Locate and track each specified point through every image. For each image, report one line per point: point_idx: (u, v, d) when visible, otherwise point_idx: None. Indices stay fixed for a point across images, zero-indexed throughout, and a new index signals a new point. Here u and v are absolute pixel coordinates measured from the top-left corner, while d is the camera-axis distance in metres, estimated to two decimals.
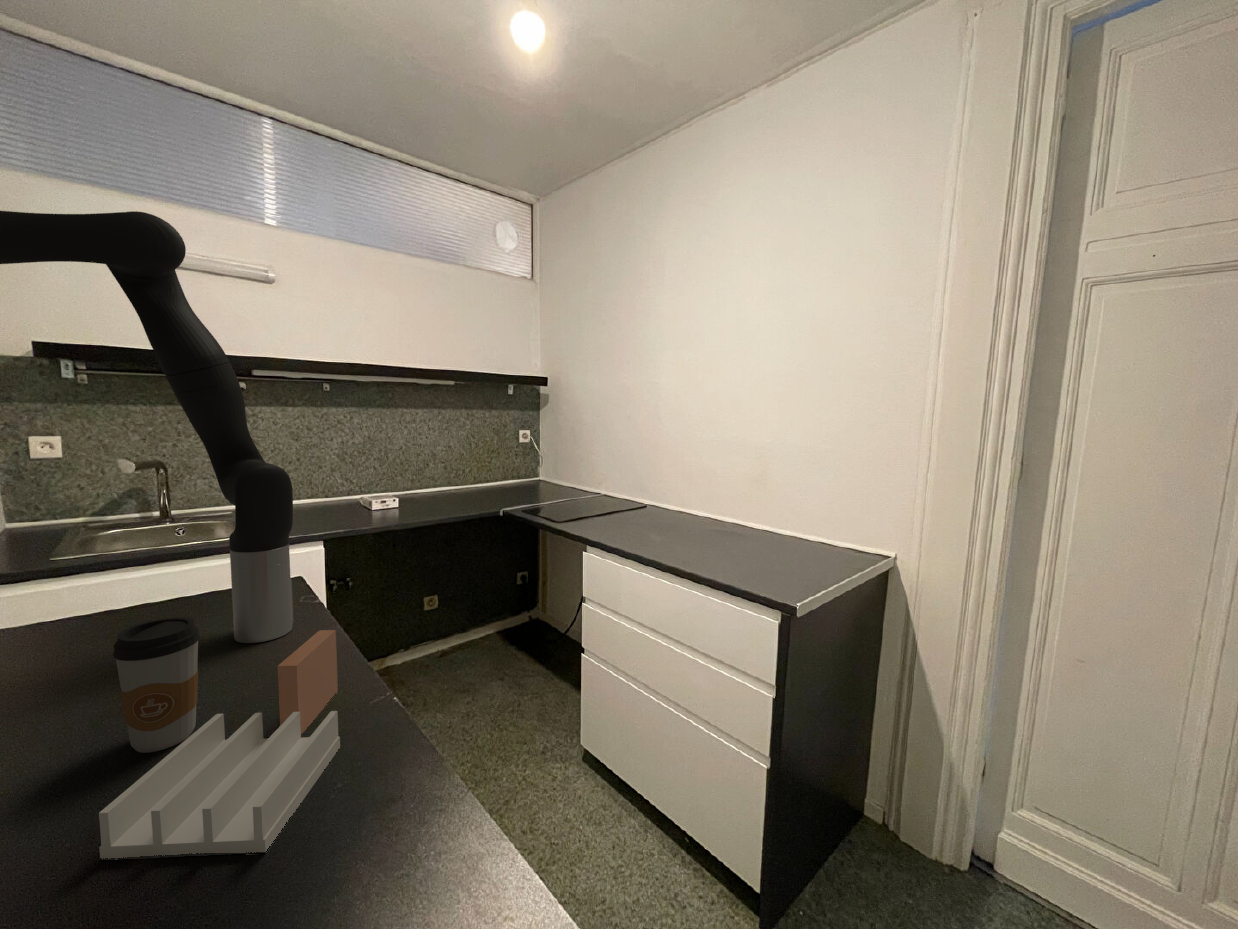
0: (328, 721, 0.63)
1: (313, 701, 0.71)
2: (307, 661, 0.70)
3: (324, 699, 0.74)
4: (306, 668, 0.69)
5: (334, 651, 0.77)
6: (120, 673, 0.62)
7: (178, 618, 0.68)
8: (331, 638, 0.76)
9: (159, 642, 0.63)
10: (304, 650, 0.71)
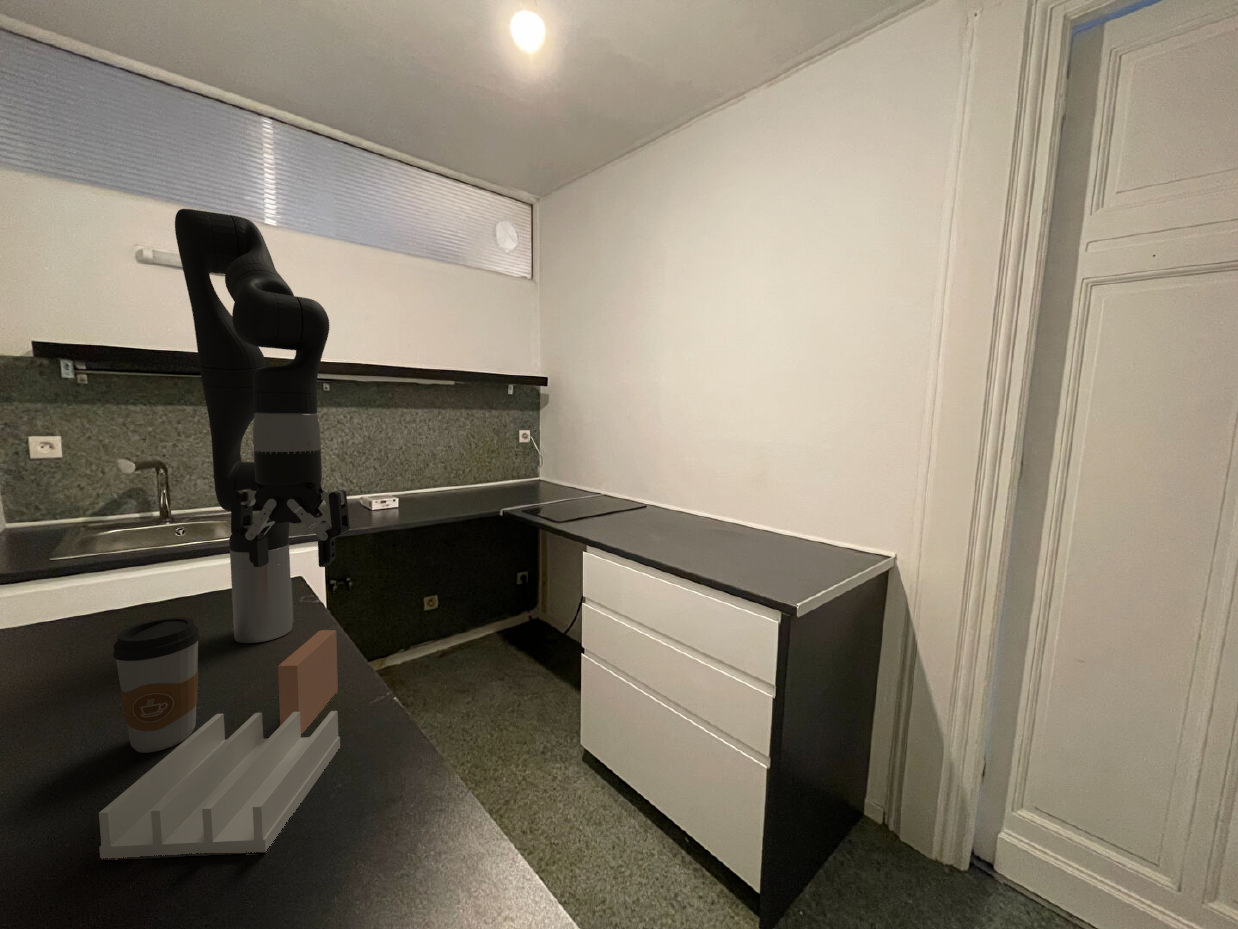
0: (328, 721, 0.63)
1: (314, 701, 0.71)
2: (308, 661, 0.70)
3: (324, 699, 0.74)
4: (307, 668, 0.69)
5: (335, 651, 0.77)
6: (120, 673, 0.62)
7: (178, 618, 0.68)
8: (331, 638, 0.76)
9: (159, 642, 0.63)
10: (305, 650, 0.71)
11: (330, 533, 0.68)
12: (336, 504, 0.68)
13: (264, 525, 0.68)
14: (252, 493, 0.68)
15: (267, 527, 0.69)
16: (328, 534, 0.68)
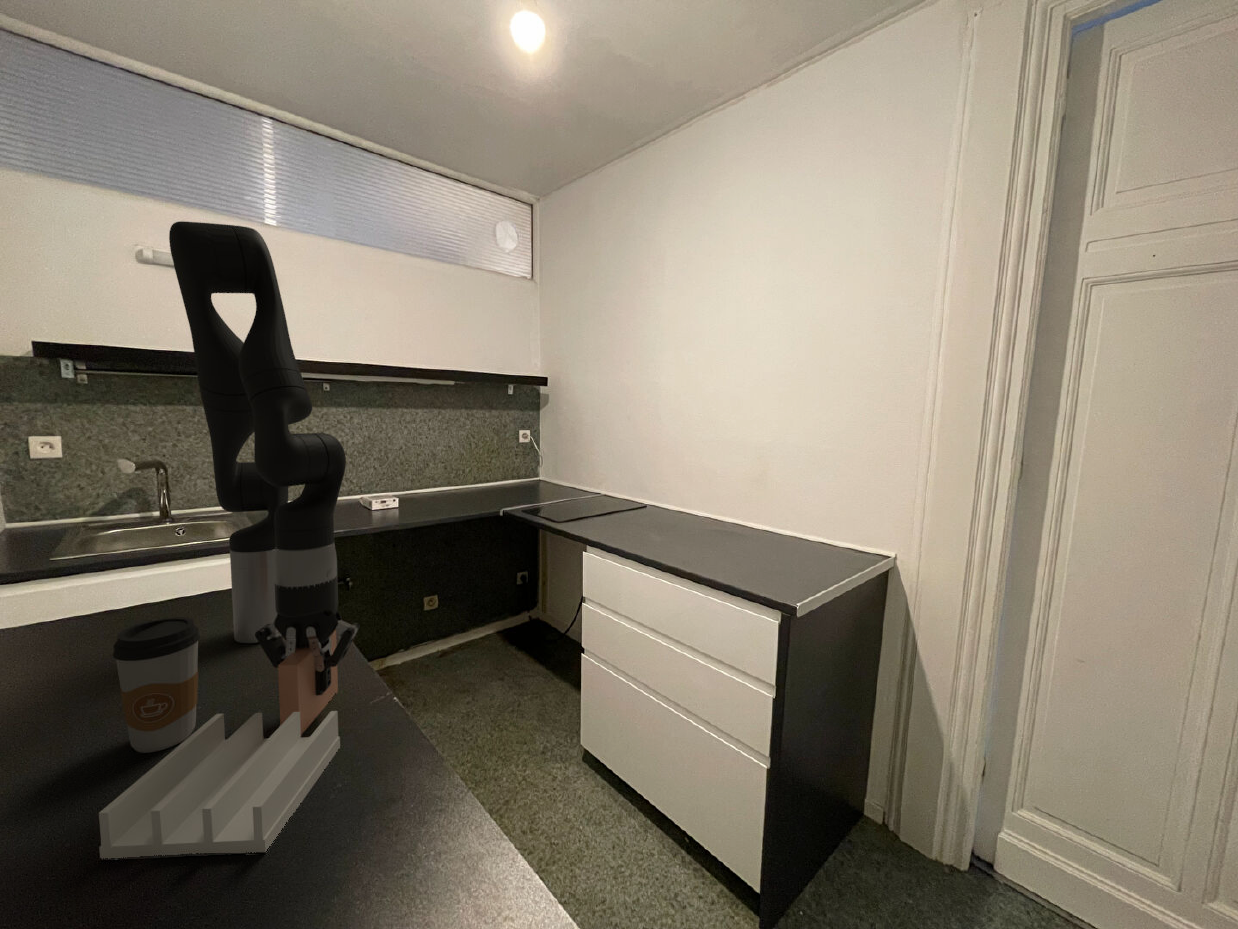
0: (328, 721, 0.63)
1: (314, 700, 0.71)
2: (308, 661, 0.70)
3: (324, 699, 0.74)
4: (307, 668, 0.69)
5: None
6: (120, 673, 0.62)
7: (178, 618, 0.68)
8: (331, 638, 0.76)
9: (159, 642, 0.63)
10: (304, 650, 0.71)
11: (326, 663, 0.72)
12: (346, 641, 0.71)
13: None
14: (272, 625, 0.71)
15: None
16: (324, 665, 0.72)
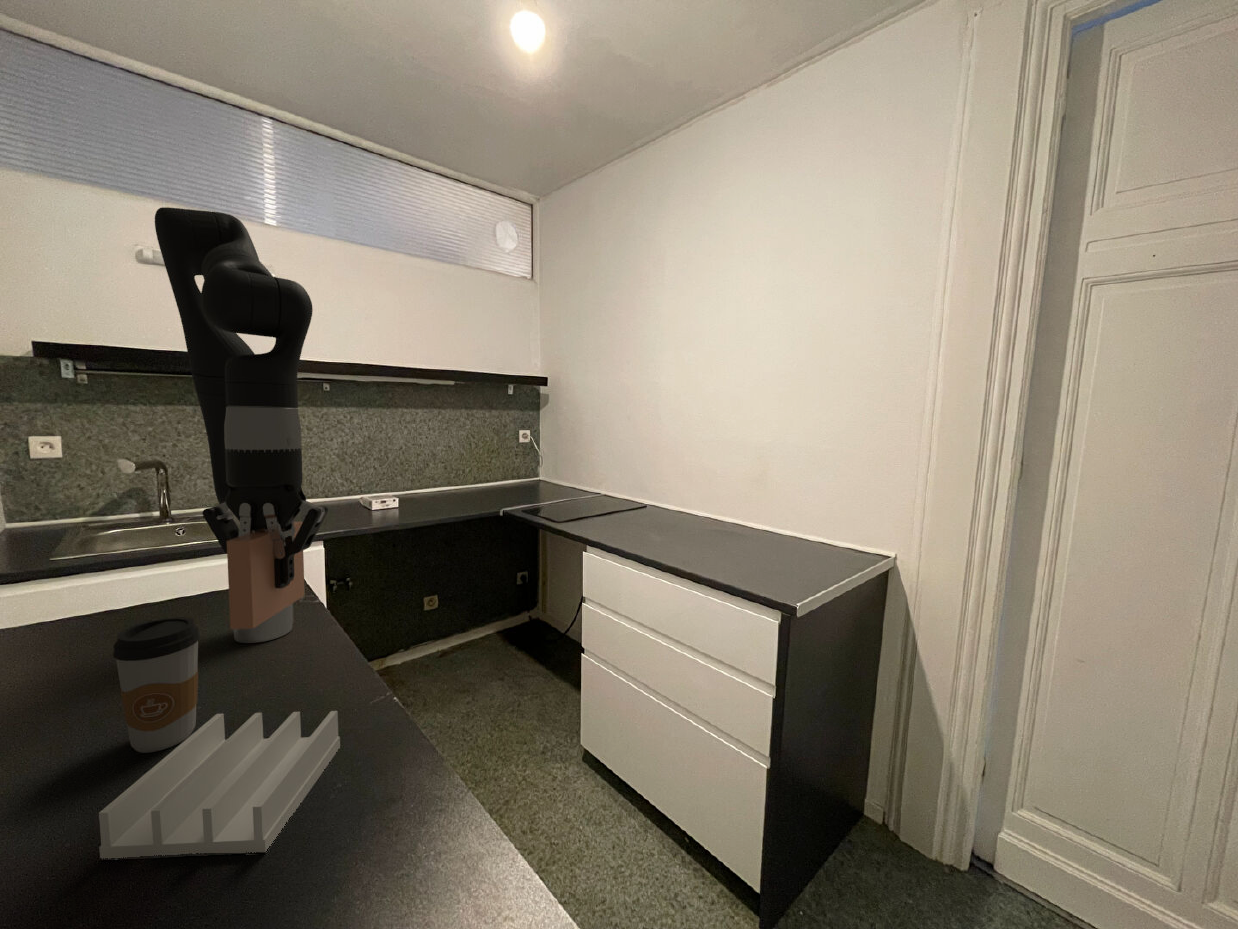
0: (328, 721, 0.63)
1: (272, 593, 0.61)
2: (265, 542, 0.59)
3: (287, 597, 0.64)
4: (263, 550, 0.59)
5: None
6: (120, 673, 0.62)
7: (178, 618, 0.68)
8: (296, 529, 0.66)
9: (159, 642, 0.63)
10: (262, 532, 0.60)
11: (288, 550, 0.61)
12: (311, 522, 0.61)
13: None
14: (223, 504, 0.60)
15: None
16: (285, 551, 0.61)
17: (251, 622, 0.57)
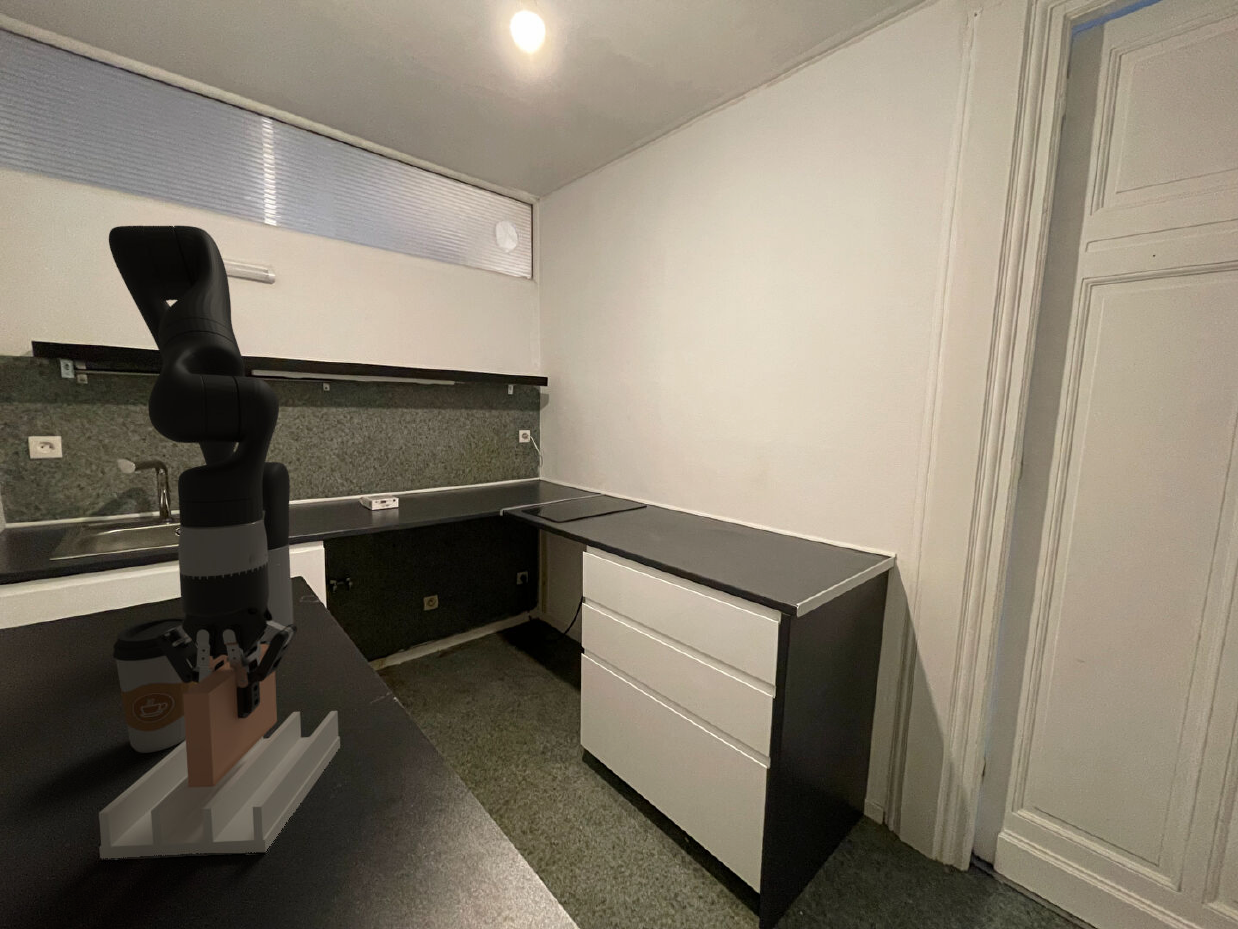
0: (328, 721, 0.63)
1: (237, 737, 0.55)
2: (227, 686, 0.53)
3: (255, 733, 0.58)
4: (225, 695, 0.53)
5: None
6: (120, 673, 0.62)
7: (178, 618, 0.68)
8: None
9: None
10: (225, 672, 0.55)
11: (252, 677, 0.55)
12: (277, 648, 0.55)
13: (213, 663, 0.54)
14: (180, 627, 0.54)
15: (222, 663, 0.56)
16: (249, 679, 0.55)
17: (211, 780, 0.52)
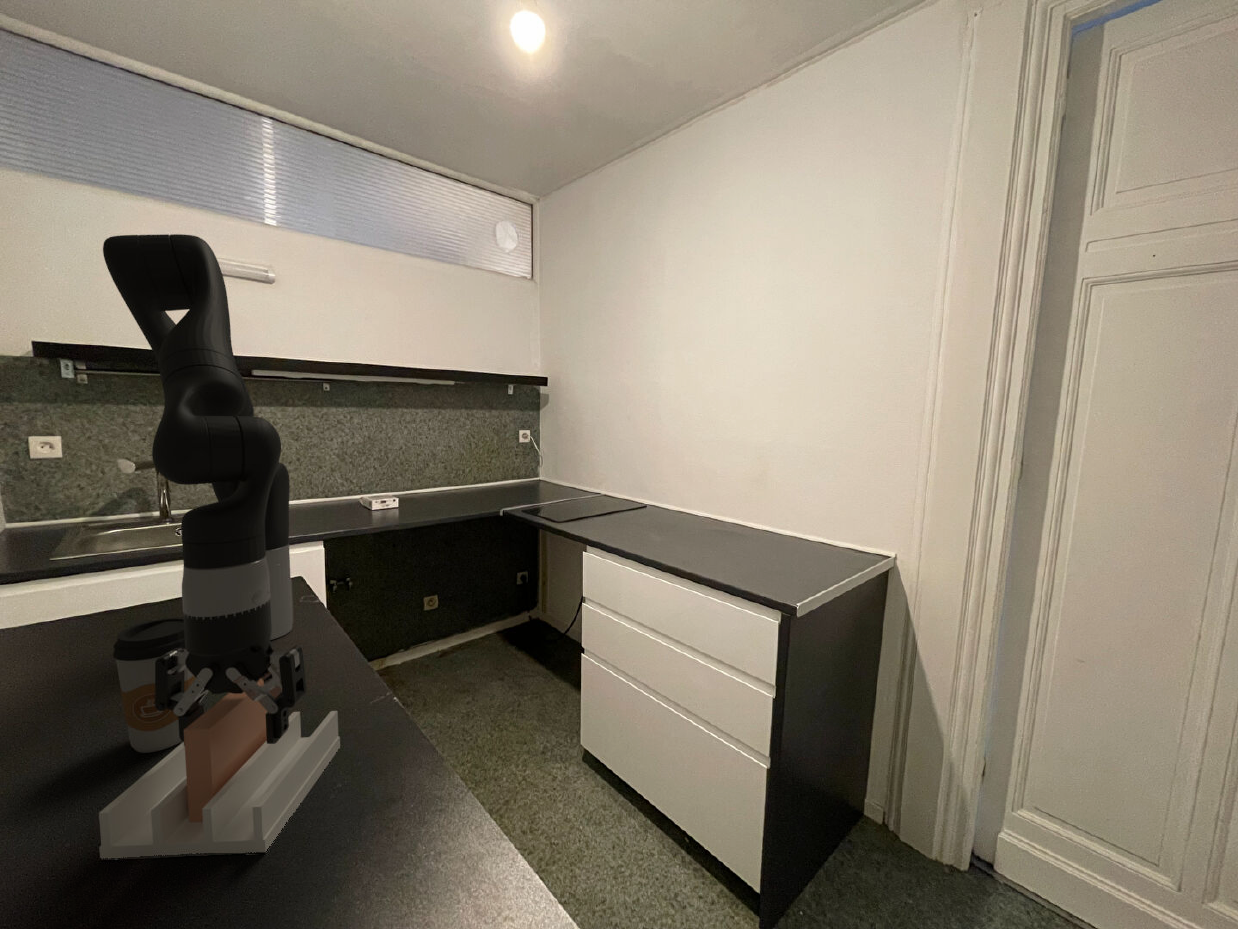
0: (328, 721, 0.63)
1: (238, 769, 0.55)
2: (228, 720, 0.54)
3: None
4: (226, 730, 0.53)
5: None
6: (120, 673, 0.62)
7: (178, 618, 0.68)
8: None
9: (159, 642, 0.63)
10: (225, 705, 0.55)
11: (281, 703, 0.56)
12: (288, 670, 0.55)
13: (198, 697, 0.55)
14: (182, 657, 0.55)
15: (203, 694, 0.56)
16: (279, 705, 0.56)
17: None
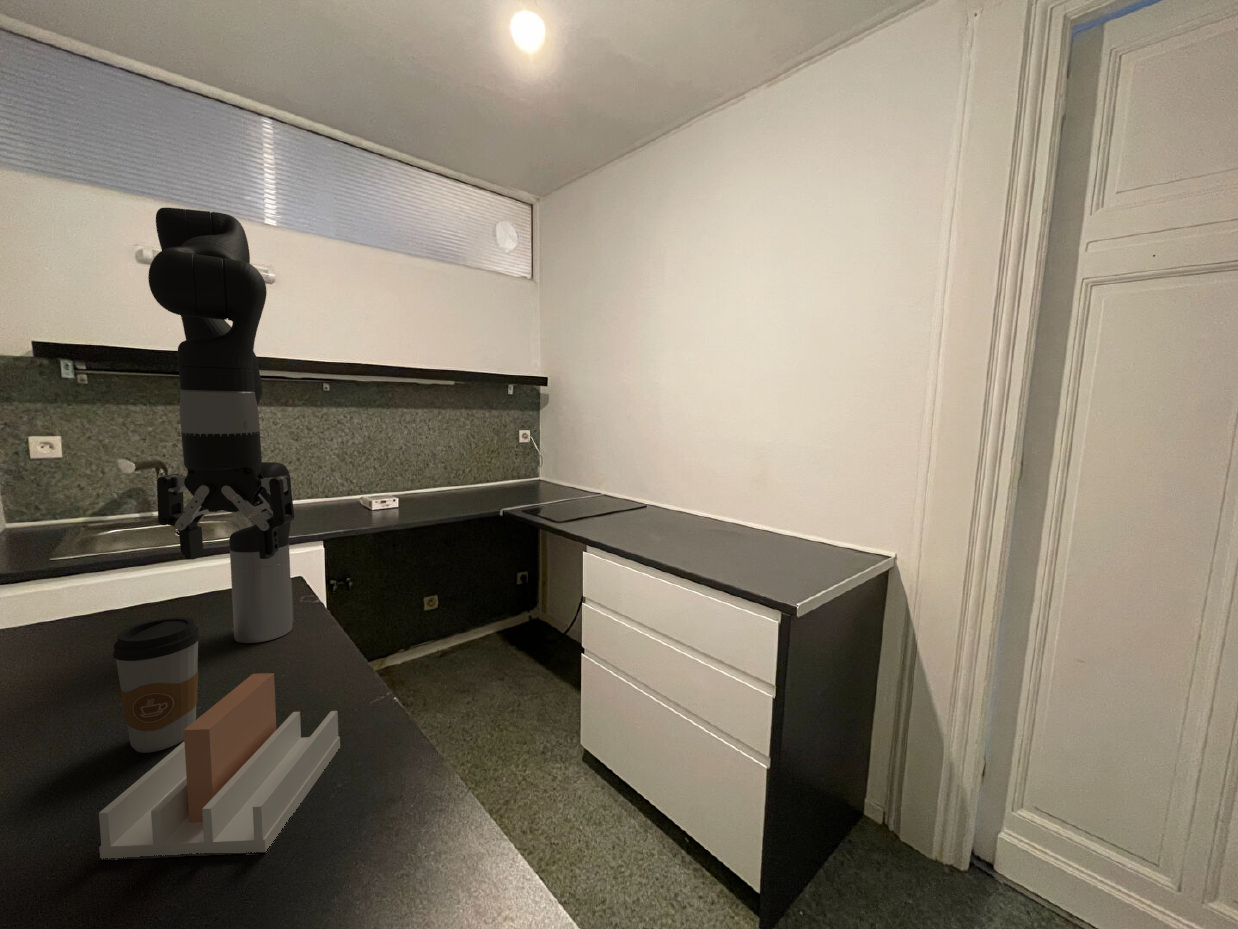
0: (328, 721, 0.63)
1: (238, 769, 0.55)
2: (228, 720, 0.54)
3: None
4: (226, 730, 0.53)
5: (272, 700, 0.61)
6: (120, 673, 0.62)
7: (178, 618, 0.68)
8: (267, 684, 0.60)
9: (159, 642, 0.63)
10: (225, 705, 0.55)
11: (272, 522, 0.63)
12: (278, 491, 0.62)
13: (196, 514, 0.61)
14: (181, 479, 0.61)
15: (200, 516, 0.63)
16: (270, 524, 0.63)
17: None
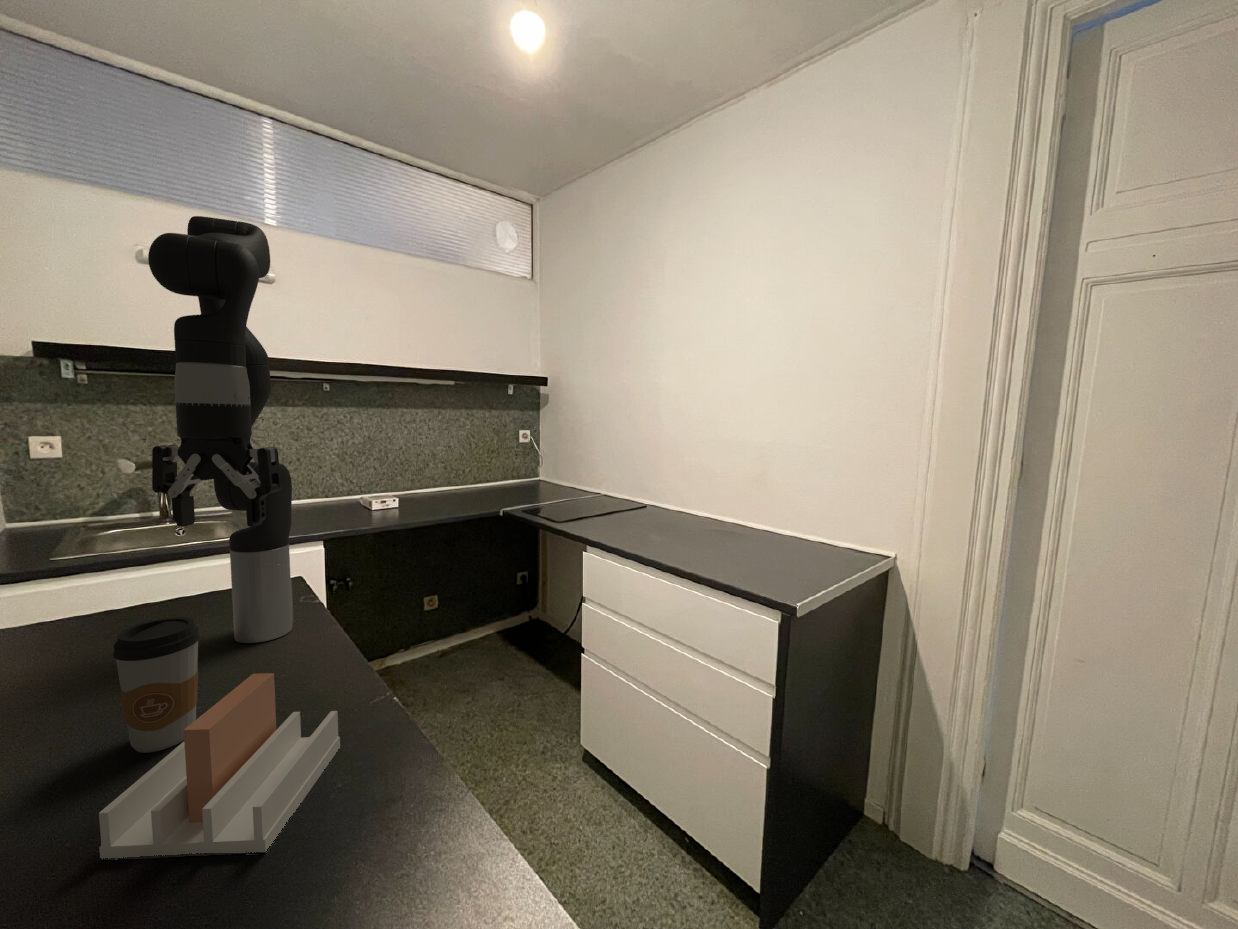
0: (328, 721, 0.63)
1: (238, 769, 0.55)
2: (228, 720, 0.54)
3: None
4: (226, 730, 0.53)
5: (272, 700, 0.61)
6: (120, 673, 0.62)
7: (178, 618, 0.68)
8: (267, 684, 0.60)
9: (159, 642, 0.63)
10: (225, 705, 0.55)
11: (259, 491, 0.66)
12: (265, 460, 0.65)
13: (188, 482, 0.65)
14: (175, 448, 0.65)
15: (193, 485, 0.66)
16: (257, 492, 0.66)
17: None
